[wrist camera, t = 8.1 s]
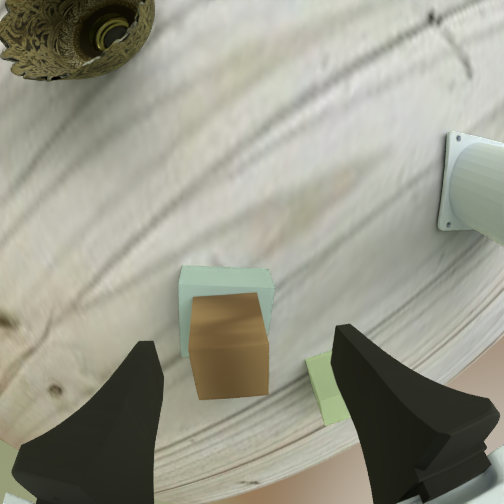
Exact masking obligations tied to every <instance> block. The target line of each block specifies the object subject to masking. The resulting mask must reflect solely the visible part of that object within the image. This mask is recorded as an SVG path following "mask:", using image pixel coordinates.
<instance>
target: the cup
mask: <svg viewBox="0 0 504 504" xmlns="http://www.w3.org/2000/svg"><path fill="white" fill-rule="evenodd" d="M5 7H6V9H7V11H8V13H7V14H6V15H5V16H4V17H3V18H2V20H1V21H0V40H1V42H2V43H3V44H4V45H5V47H6V49H5V51H4V49H3V51H2V53H1V55H0V57H1V58H2V59H3V60H7V61H12V62H15V63H14V64H13V65H12V67H11V68H10V69H11V72H12V73H13V74H15V75H18V76H23V78H24V79H30V80H38V81H44V80H46V81H53V80H72V79H86V78H92V77H97V76H101V75H103V74H106V73H109V72H111V71H113V70H115V69H117V68H119V67H121V66H122V65H124V64H125V63H126V62H128V61H129V60H130V59H131V58H132V57H133V56H134V55H135V54H136V53H137V52H138V51H139V50H140V49H141V47H142V46H143V45H144V43H145V42H146V40H147V38H148V36H149V34H150V32H151V29H152V25H153V21H154V15H155V2H154V0H7V1H6V3H5ZM114 27H124V28H125V29H126V30H127V31H126V33H125V35H124V36H123V37H122V38H121V39H117V40H115V41H114V42H113V43H112V45H111V46H110V47H109V48H108V47H107V46H106V45H105V42H104V39H105V36H106V34H107V33H108V31H109V30H111V29H112V28H114Z"/></svg>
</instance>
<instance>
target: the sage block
mask: <svg viewBox="0 0 504 504" xmlns="http://www.w3.org/2000/svg"><path fill="white" fill-rule="evenodd" d="M331 355H332V351H329V352H326V353H323V354H320V355H316V356H313V357H310V358H307V359H305V361H306V365H307V369H308V373H309V377H310V381H311V385H312V388H313V391H314V394H315V397H316V400H317V403H318V406H319V409H320V412H321V415H322V418H323V421H324V424H325V426H327V425H330V424H333V423H336V422H339V421H342V420H345V419H348V418H351V416H350V414H349V412H348V409H347V407H346V405H345V402H344V400H343V398H342V396H341V393H340V391H339V389H338V386H337V384H336V381H335V378H334V374H333V371H332V367H331V364H330V361H331Z"/></svg>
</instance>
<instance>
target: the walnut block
mask: <svg viewBox="0 0 504 504" xmlns="http://www.w3.org/2000/svg"><path fill="white" fill-rule="evenodd" d="M188 352H189V357H190V362H191V367H192V371H193V376H194V380H195V385H196V389H197V394H198V398H199V400H210V399H227V398H240V397H251V396H262V395H268V393H269V342H268V338H267V333H266V329H265V325H264V321H263V316H262V312H261V308H260V303H259V299H258V295H257V292H254V293H241V294H227V295H212V296H197V297H193V301H192V311H191V322H190V333H189V345H188Z"/></svg>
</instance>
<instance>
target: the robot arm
mask: <svg viewBox="0 0 504 504" xmlns="http://www.w3.org/2000/svg"><path fill="white" fill-rule="evenodd" d="M456 137H458V139H457V140H456ZM447 223H448V225H447ZM446 225H447V226H446ZM438 228H439V229H440V230H442V231H451V230H476V231H478V232H479V233H481V234H483V235H485V236H486V237H488V238H490V239H491V240H493V241H495V242H496V243H498V244H499V245H501V246H503V247H504V143H501V142H497V141H493V140H490V139H485V138H481V137H477V136H473V135H468V134H464V133H459V132H454V131H450V132H448V134H447V144H446V159H445V170H444V180H443V189H442V197H441V205H440V212H439V218H438ZM330 364H331V367H332V371H333V374H334V378H335V381H336V384H337V386H338V389H339V391H340V393H341V396H342V398H343V400H344V402H345V405H346V407H347V409H348V412H349V414H350V416H351V418H352V421H353V423H354V425H355V428H356V431H357V434H358V437H359V440H360V444H361V447H362V451H363V454H364V459H365V462H366V467H367V471H368V476H369V480H370V485H371V491H372V497H373V503H374V504H504V445H502V446H500V447H499V448H497V449H496V450H494V451H493V452H491V453H490V454H489V455H488V456H486V454H485V452H484V451H485V450H486V449H487V446H486V445H485V443H484V440H485V439H486V438H487V437H488V435H489V434H490V433H491V431H492V430H493V429H494V428H495V426H496V425H497V423H498V421H499V418H500V413H499V412H498V410H497V409H496V408H495V406H494V405H493V403H492V402H491V401H490V399H488V398H484V397H480V396H475V395H470V394H467V393H464V392H460V391H457V390H454V389H451V388H449V387H446V386H444V385H441V384H439V383H437V382H434V381H432V380H430V379H428V378H426V377H424V376H422V375H420V374H418V373H417V372H415V371H413V370H411V369H410V368H408V367H406V366H405V365H403V364H402V363H400V362H399V361H397V360H396V359H394V358H393V357H391V356H390V355H389V354H387V353H386V352H385V351H383V350H382V349H381V348H379V347H378V346H377V345H376V344H374V343H373V342H372V341H371V340H369V339H368V338H367V337H366V336H364V335H363V334H362V333H361V332H360V331H358V330H357V329H356V328H355V327H353V326H352V325H351V324H345V325H338V326H336V328H335V335H334V342H333V348H332V355H331V361H330ZM163 387H164V375H163V372H162V369H161V365H160V362H159V359H158V355H157V352H156V348H155V345H154V341H139V342H138V343H137V344H136V345H135V346H134V348H133V349H132V350H131V352H130V353H129V354H128V356H127V357H126V358H125V360H124V361H123V362H122V363H121V365H120V366H119V367H118V369H117V370H116V371H115V372H114V373H113V375H112V376H111V377H110V378H109V380H108V381H107V382H106V383H105V384H104V385H103V386H102V387H101V389H100V390H99V391H98V392H97V393H96V394H95V395H94V396H93V397H92V398H91V399H90V400H89V401H88V402H87V403H86V404H85V405H83V406H82V407H81V408H80V409H79V410H78V411H76V412H75V413H74V414H72V415H71V416H70V417H69V418H67V419H66V420H65V421H63V422H62V423H60V424H59V425H57V426H56V427H55V428H53V429H51V430H50V431H48V432H46V433H45V434H43V435H41V436H39V437H37V438H35V439H33V440H31V441H29V442H27V443H25V444H23V445H21V447H20V449H19V452H18V455H17V457H16V460H15V463H14V466H13V469H12V475H13V477H14V478H15V480H16V481H17V482H18V483H20V485H22V486H23V487H24V488H25V489H26V490H27V491H29V492H30V493H31V494H32V495H34V496H35V497H36V498H37V501H36V504H154V486H153V469H154V448H155V441H156V435H157V429H158V423H159V418H160V412H161V406H162V401H163ZM3 504H34V503H32V502H30V501H28V500H26V499H23V498H21V497H18V496H15V495H13V494H11V493H6V494H5V498H4V501H3Z"/></svg>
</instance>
